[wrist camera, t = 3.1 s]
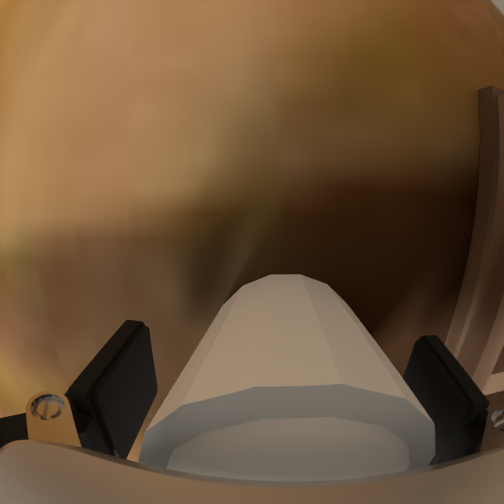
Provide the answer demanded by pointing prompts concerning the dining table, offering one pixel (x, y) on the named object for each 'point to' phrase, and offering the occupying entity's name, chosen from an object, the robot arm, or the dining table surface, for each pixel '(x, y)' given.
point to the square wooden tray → (484, 261)
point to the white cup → (289, 394)
